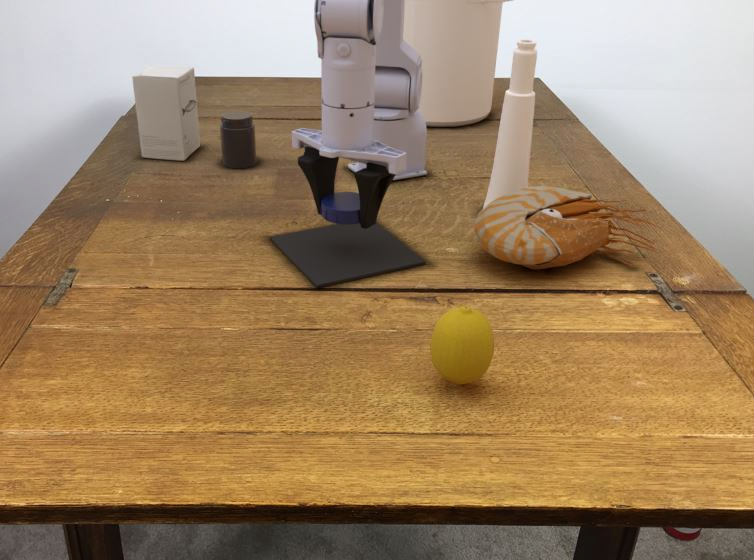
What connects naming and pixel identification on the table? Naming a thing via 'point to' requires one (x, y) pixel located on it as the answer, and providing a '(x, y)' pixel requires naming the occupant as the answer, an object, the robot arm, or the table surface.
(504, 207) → the nautilus
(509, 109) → the cosmetic bottle
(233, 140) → the jar
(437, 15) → the bucket
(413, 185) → the table surface
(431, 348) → the lemon
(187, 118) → the white packaging box
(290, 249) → the mat
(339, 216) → the jar lid
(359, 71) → the robot arm
